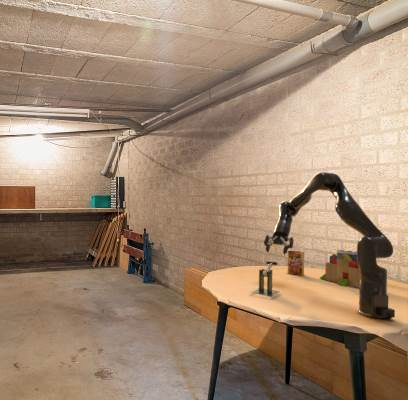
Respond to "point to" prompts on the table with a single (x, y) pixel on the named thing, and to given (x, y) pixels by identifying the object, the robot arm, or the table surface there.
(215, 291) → the table surface
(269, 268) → the lever
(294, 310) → the table surface
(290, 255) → the candy box
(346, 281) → the block set
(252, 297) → the table surface
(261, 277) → the bracket
